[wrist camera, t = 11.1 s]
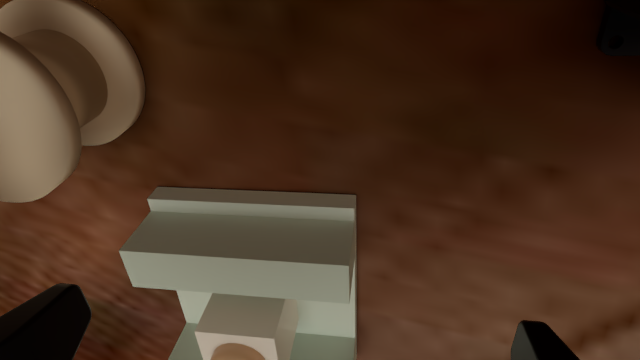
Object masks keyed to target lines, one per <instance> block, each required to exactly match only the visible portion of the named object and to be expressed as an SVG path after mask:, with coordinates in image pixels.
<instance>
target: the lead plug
mask: <svg viewBox="0 0 640 360" xmlns="http://www.w3.org/2000/svg"><path fill="white" fill-rule="evenodd" d="M298 320H299V317H298V309H297V300H294V299H282V298H269V297H256V296H244V295H231V294H219V293H212V295H211V297H210V299H209V302H208V304H207V306H206V308H205V310H204V312H203V314H202V316H201V318H200V321H199V323H198V325H197V327H196V329H195V331H194V332H195V336H196V339H197V342H198V345H199V348H200V351H201V354H202V358H203V360H289V359H290V355H291V350H292V346H293V342H294V338H295V333H296V329H297V325H298Z"/></svg>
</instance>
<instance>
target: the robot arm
mask: <svg viewBox="0 0 640 360" xmlns="http://www.w3.org/2000/svg"><path fill="white" fill-rule="evenodd" d="M604 1H605V2H606V4H607V7H606V10H605V14H604V17H603V21H602V24H601V28H600V31H599V34H598V38H597V47H598V49H599V50H600V51H602V52H603V53H605V54H606V55H611V56H636V55H640V0H604ZM616 35H618V36H619V40H618V41H617V43H616V44H614V45H613V46H608V42H609V40H610V39H611V38H612V37H613V36H616ZM90 320H91V309H90V306H89V304H88V302H87V300H86V298H85V296H84V294H83V292H82V290H81V288H80V287H79V286H78V285H75V284H64V283H60V284H56V285H54V286H52V287H51V288H49V289H47V290H45V291H44V292H42V293H40V294H38V295H37V296H35V297H33V298H32V299H30V300H28V301H26V302H25V303H23V304H21V305H19V306H18V307H16V308H14V309H13V310H11V311H9V312H7V313H6V314H4V315H2V316H0V360H73V358H74V356H75V354H76V351H77V349H78V347H79V345H80V342H81V340H82V338H83V336H84V334H85V331H86V329H87V327H88V325H89V323H90ZM511 360H580V359H579V358H578V357H577V356H576V355H575V354H574V353H573V352H572V351H571V350H570V349H569V348H568V346H567V345H566V344H565V343H564V342H563V341H562V340H561V339H560V338H559V337H558V336H557V335H556V333H555V332H554V331H553V330H552V329H551V328H550V327H549V326H548V325H547V324H545V323H544V322H540V321H528V320H523V321H521V322H520V323H519V324H518V327H517V331H516V334H515V337H514V341H513V344H512V348H511Z"/></svg>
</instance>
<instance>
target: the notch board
mask: <svg viewBox="0 0 640 360" xmlns="http://www.w3.org/2000/svg"><path fill="white" fill-rule="evenodd" d="M147 200H148V204H149V207H150V210H151V212H150V213H149V214H148V215H147V217H146V218H145V219H144V220H143V222H142V223H141V224H140V225H139V227H138V228H137V229H136V230H135V231H134V233H133V234H132V235H131V236H130V238H129V239H128V240H127V241H126V243H125V244H124V245H123V246H122V248H121V249H120V250H119V252H120V255H121V258H122V260H123V263H124V265H125V268H126V270H127V273H128V275H129V278H130V280H131V283H132V285H133V287H143V288H156V289H168V290H176V291H177V294H178V297H179V300H180V303H181V306H182V309H183V313H184V316H185V319H186V322H187V323H186V325H185V327H184V329H183V331H182V333H181V335H180V337H179V339H178V341H177V343H176V345H175V347H174V349H173V351H172V353H171V355H170V357H169V359H168V360H203V358H202V354H201V351H200V348H199V345H198V342H197V339H196V336H195V332H194V331H195V329H196V327H197V325H198V323H199V321H200V318H201V316H202V314H203V312H204V310H205V308H206V306H207V304H208V302H209V299H210V297H211V295H212V293H219V294H231V295H244V296H256V297H269V298H282V299H294V300H297V309H298V317H299V320H298V325H297V329H296V333H295V338H294V342H293V346H292V350H291V355H290V359H289V360H356V358H357V280H356V195H347V194H323V193H298V192H274V191H249V190H225V189H200V188H176V187H157V188H156V189H155V190H154V191H153V193H152V194H151V195H150V196H149V197H148V198H147Z"/></svg>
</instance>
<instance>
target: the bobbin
mask: <svg viewBox="0 0 640 360" xmlns="http://www.w3.org/2000/svg"><path fill="white" fill-rule="evenodd" d="M144 101H145V80H144V76H143V71H142V68H141V65H140V62H139V60H138V58H137V56H136V53H135V51H134V50H133V48H132V46H131V45H130V43H129V41H128V40H127V39H126V37H125V36H124V35H123V33H122V32H121V31H120V30H119V29H118V28H117V27H116V25H115V24H114V23H113V22H111V21H110V20H109V19H108V18H107V17H106V16H105V15H103V14H102V13H101V12H99V11H98V10H97V9H95V8H94V7H92V6H90V5H89V4H87V3H85V2H83V1H81V0H13V1H11V2H9V3H7V4H6V5H4V6H3V7H2V8H1V9H0V201H4V202H29V201H33V200H37V199H40V198H42V197H44V196H45V195H47V194H49V193H50V192H51V191H52V190H53V189H55V188H56V187H57V186H58V185H60V184H61V183H62V182H63V181H64V180H66V179H67V178H68V177H69V176H70V175H71V174H72V173H73V172H74V170H75V168H76V167H77V165H78V162H79V159H80V156H81V148H82V145H84V146H95V145H101V144H105V143H108V142H110V141H112V140H114V139H116V138H117V137H118V136H120V135H121V134H122V133H123V132H125V131H126V130H127V129H128V128H129V127H131V126H132V125H133V124H134V123H135V122H136V120H137V119H138V117H139V116H140V114H141V111H142V109H143V106H144Z"/></svg>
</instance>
